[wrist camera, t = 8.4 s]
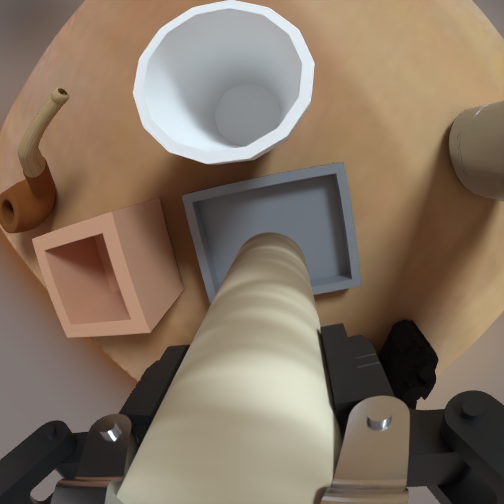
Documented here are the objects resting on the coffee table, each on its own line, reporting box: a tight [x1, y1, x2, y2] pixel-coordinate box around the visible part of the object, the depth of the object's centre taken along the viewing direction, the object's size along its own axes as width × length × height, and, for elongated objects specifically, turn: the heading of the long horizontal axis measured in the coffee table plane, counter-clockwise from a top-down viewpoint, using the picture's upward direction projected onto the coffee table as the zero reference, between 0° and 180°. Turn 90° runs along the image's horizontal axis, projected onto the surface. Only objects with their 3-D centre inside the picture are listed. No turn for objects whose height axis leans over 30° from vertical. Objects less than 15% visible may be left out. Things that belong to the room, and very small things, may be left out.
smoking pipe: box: [0, 88, 69, 233], centre depth 23 cm, size 7×18×6 cm
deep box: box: [32, 198, 184, 337], centre depth 26 cm, size 10×10×9 cm
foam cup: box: [133, 0, 315, 164], centre depth 19 cm, size 10×9×13 cm
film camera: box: [378, 320, 438, 410], centre depth 27 cm, size 15×10×9 cm, turn 164°
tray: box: [182, 162, 361, 305], centre depth 27 cm, size 14×11×2 cm
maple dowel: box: [116, 232, 342, 504], centre depth 11 cm, size 4×4×16 cm
